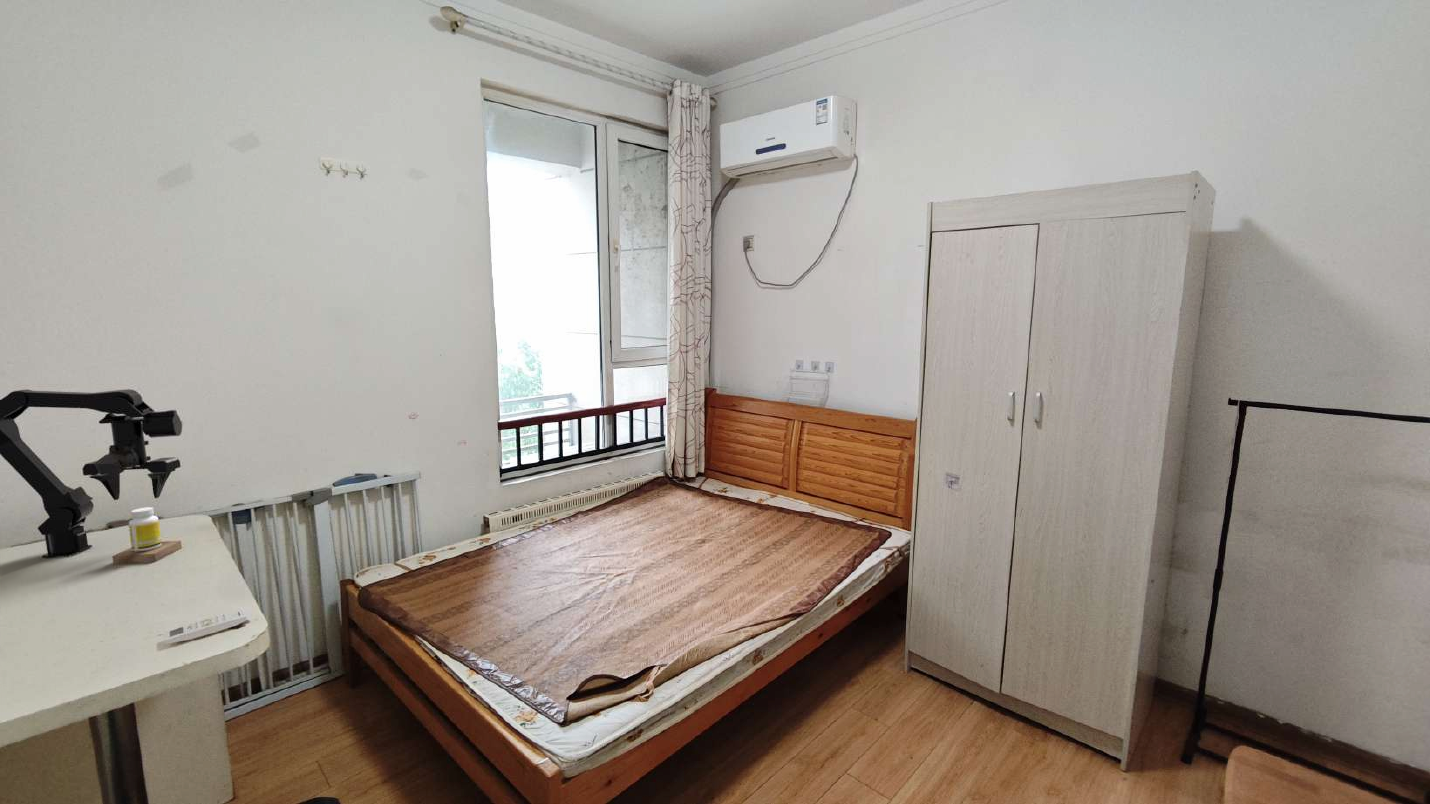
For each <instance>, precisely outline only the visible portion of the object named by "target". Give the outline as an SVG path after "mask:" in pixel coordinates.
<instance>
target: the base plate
mask: <svg viewBox="0 0 1430 804" xmlns="http://www.w3.org/2000/svg"><path fill="white" fill-rule="evenodd" d="M180 549H182V540H170V541H169V540H167V541H161V546H160V547H158V548H155V549H152V550H147V551H133V550H132V546H130V547H128V548H126V549H125V550H122V551H120V552H118V553H116V554H114V555H112V564H113V565H120V564H121V565H123V564H135V563H137V564H140V563H153V562H154V563H155V562H157V561H160V560H162V559H164V558H166V557H167V556H169V555H172V554H173V553H175V552H177V551H178V550H180ZM159 559H160V560H159Z"/></svg>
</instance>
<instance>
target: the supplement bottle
mask: <svg viewBox="0 0 1430 804" xmlns="http://www.w3.org/2000/svg"><path fill="white" fill-rule="evenodd" d="M130 514H131V517H132V519H130V520H129V522H128V528H129V530H128V531H129V537H130V544H131V545H130V547H132V550H133V551H147V550H152V549H155V548H158V547H160V546H161V542H162V537H161V530H160V529H161V528H160V522H159V517H158V516H157V515H154V507H150V506H148V507H139V508H135V509H133V510H131V511H130Z"/></svg>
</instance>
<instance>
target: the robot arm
mask: <svg viewBox="0 0 1430 804" xmlns="http://www.w3.org/2000/svg"><path fill="white" fill-rule="evenodd" d="M29 408H54V409H55V408H57V409H58V408H60V409H62V408H63V409H87V410H91V411H92V410H93V411H97V412H100V413H106V414H105V416H104V417H103V418H102V419H100V420H98V423H99V424H101V425H102V424H104V425H105V424H110V428H111V433H112V434H111V435H112V441H113V444H112V445H109V447H108V453H107V454H104V455H103V456H101V458H99V459H97V460H95V461H92V462H88V463H87V462H86V463H85V464H84V465H83V467H82V468H81V469H82V475H83V476H88V477H89V478H90V479H94V480H97V481H98V482H100V483H101V484H102V485H103V486H104V488H105V489H106V490H107V492H108V494H110V496H111V498H112V499H113V500H114V501H118V500H120V493H121V486H120V485H121V483H120V479H121V474H122V473H124V472H125V471H126V470H127V471H129V470H131V471H132V470H147V471H149V472H150V473H147V477H148V478H150V479H151V486H152V494H153V498H154V499H158V498H160V497H161V494H162V492H163V489H164V487H165V484H166V482H167V480H168V478H169V477H170V475H171V474H172V472H175V471H176V470H177V469H178V468H181V460H180V459H179V458H178V457H175V456H174V457H172V456H171V457H170V456H169V457H159V458H157V459H154V460H152V458H151V456H150V455H147V450H146V446H147V445H149V443H150V442H149V440H145V436H148V437H150V438H166V437H169V438H170V437H180V436H181V435H182V432H183V421H182V420H181V419H180V415H179V414H178V412H177V410H176V409H169V410H165V411H164V410H163V411H155V409H153V408H152V407H151V406H150V405H148V404H147V403H146V402H145V401H144V400H143V398H142V396H141V394H140V393H139V392H137V390H134V389H130V388H129V389H117V390H106V391H97V392H83V391H82V392H81V391H79V392H78V391H76V392H75V391H56V390H55V391H49V390H32V389H20V390H13V391H11V392H9V393H8V394H7V395H6V396H4V397H2V398H1V399H0V456H1V457H2V458H3V459H4V460H5V461H6V462H7V463H8V464H9V465H10V466H11V467H12V468H13V469H14V471H15V472H17V473H18V475H20V476H21V478H23V480H24V481H26V482H27V484H28V485H30V487H31V488H32V489H33V490H34V491H35V492H36V493H37V494H38V495H39V496H40V498H41V500H42V504H43V509H44V511H45V512H46V514H47V515H48V518H47V519H46V520H44V521H43V522H42V523H41V524H39V526H38V527H37V530H38V531H39V533H40V534H41V536H44V539H45V546H46V552H47V553H44V554H42V555H41V558H57V557H58V558H59V557H70V556H69V555H72V556H74V555H76V554H75V553H77V552H79V553H81V552H83V550H84V551H85V549H86V550H88V549H91V548H93V545H92V544H89V543H88V535H87V532H86V531H85V528H84V525H81V524H84V523H85V522H86V519H87V517H88V516H90V515H91V514H92V513H93V510H94V507H95V506H94V503H93V501H92V500H93V499H94V498H93V497H92V496H90V495H89V494H87V492H86V491H85V489H84V488H83V487H82V486H78V487H76V488H72V487H69V486H67V485H65V483H63V482H62V481H61V479H60V478H59V477H58V476H57V474H55V472H53V471H52V470H51V469H50V467H48V465H46V463H44V462H43V461H42V460H41V458H40V457H39V456H38V455H37V454H36V453H35V452H34V451H33V450H32V449H31V448H30V447H29V445H27V443H26V442H25V441H23V439H22V437H21V434H20V429H19V426H18V424H17V423H16V421H15V419H17V418H18V417H20V416H21V415H22V414H24V412H25V411H27V410H28V409H29ZM90 547H91V548H90ZM87 548H88V549H87ZM73 554H74V555H73ZM77 554H78V553H77Z"/></svg>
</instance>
